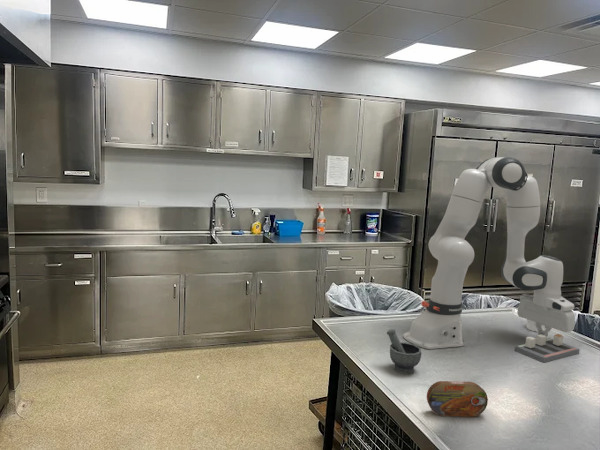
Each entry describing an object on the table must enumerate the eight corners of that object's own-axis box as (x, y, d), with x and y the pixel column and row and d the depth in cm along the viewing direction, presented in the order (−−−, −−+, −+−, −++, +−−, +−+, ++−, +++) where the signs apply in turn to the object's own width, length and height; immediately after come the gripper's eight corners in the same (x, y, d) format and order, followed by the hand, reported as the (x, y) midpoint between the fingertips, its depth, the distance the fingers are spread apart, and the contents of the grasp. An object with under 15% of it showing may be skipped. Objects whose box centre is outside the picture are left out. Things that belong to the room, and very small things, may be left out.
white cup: (541, 326, 187) (544, 303, 186) (550, 333, 179) (552, 309, 178) (521, 325, 188) (524, 302, 187) (529, 331, 180) (532, 307, 179)
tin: (427, 415, 114) (430, 384, 113) (424, 409, 117) (426, 378, 116) (486, 418, 114) (489, 386, 113) (481, 411, 117) (484, 380, 116)
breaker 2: (541, 345, 160) (542, 337, 160) (535, 343, 162) (536, 335, 162) (545, 344, 161) (546, 336, 161) (540, 342, 163) (541, 334, 163)
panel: (544, 362, 150) (544, 358, 150) (514, 350, 160) (515, 346, 160) (578, 353, 160) (579, 348, 160) (549, 342, 169) (549, 338, 169)
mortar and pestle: (423, 368, 142) (426, 331, 141) (415, 379, 134) (418, 340, 132) (389, 359, 148) (392, 324, 146) (379, 369, 139) (382, 332, 138)
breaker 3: (558, 345, 161) (559, 336, 161) (552, 343, 163) (553, 334, 162) (562, 344, 162) (563, 335, 162) (556, 342, 164) (558, 333, 163)
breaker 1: (530, 348, 157) (531, 339, 157) (525, 346, 159) (526, 337, 159) (534, 347, 159) (535, 338, 158) (529, 345, 160) (530, 336, 160)
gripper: (515, 293, 173) (512, 327, 175) (568, 308, 156) (564, 346, 157) (526, 291, 176) (522, 325, 178) (579, 306, 159) (574, 344, 160)
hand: (542, 335), depth 167 cm, fingers closed
